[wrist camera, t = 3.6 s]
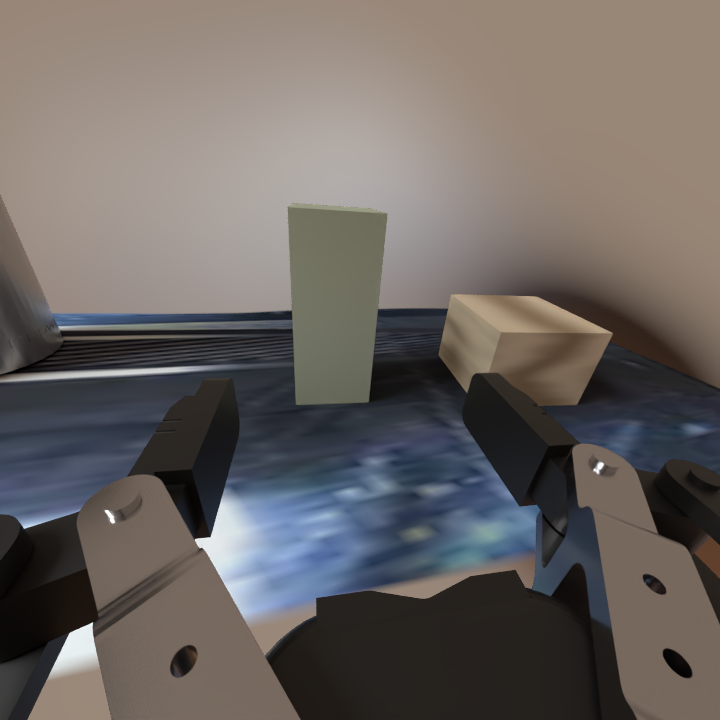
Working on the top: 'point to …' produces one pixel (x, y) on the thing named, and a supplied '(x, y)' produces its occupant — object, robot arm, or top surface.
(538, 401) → the birch base block
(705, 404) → the top surface
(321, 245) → the sage block
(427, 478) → the top surface
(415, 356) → the top surface
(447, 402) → the top surface
